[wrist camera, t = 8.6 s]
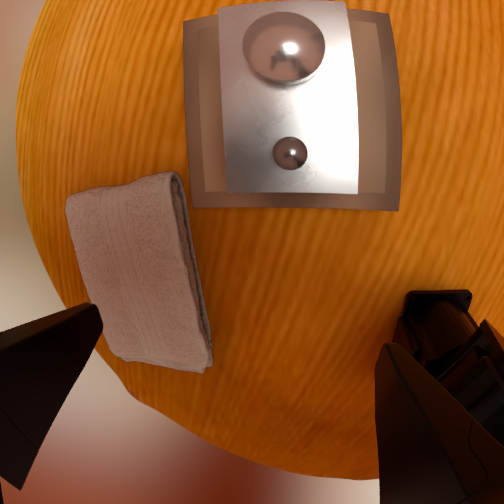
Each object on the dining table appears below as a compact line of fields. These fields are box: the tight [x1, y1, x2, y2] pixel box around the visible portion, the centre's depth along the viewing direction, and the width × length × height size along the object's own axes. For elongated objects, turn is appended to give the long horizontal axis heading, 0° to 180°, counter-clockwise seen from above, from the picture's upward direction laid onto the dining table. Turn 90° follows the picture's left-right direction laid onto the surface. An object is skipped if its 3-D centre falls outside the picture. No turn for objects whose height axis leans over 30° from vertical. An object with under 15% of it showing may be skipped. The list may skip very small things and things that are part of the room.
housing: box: [218, 0, 358, 194], centre depth 10 cm, size 8×5×6 cm, turn 2°
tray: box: [183, 8, 402, 211], centre depth 14 cm, size 12×12×3 cm
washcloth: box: [65, 171, 213, 373], centre depth 22 cm, size 12×18×3 cm, turn 6°
